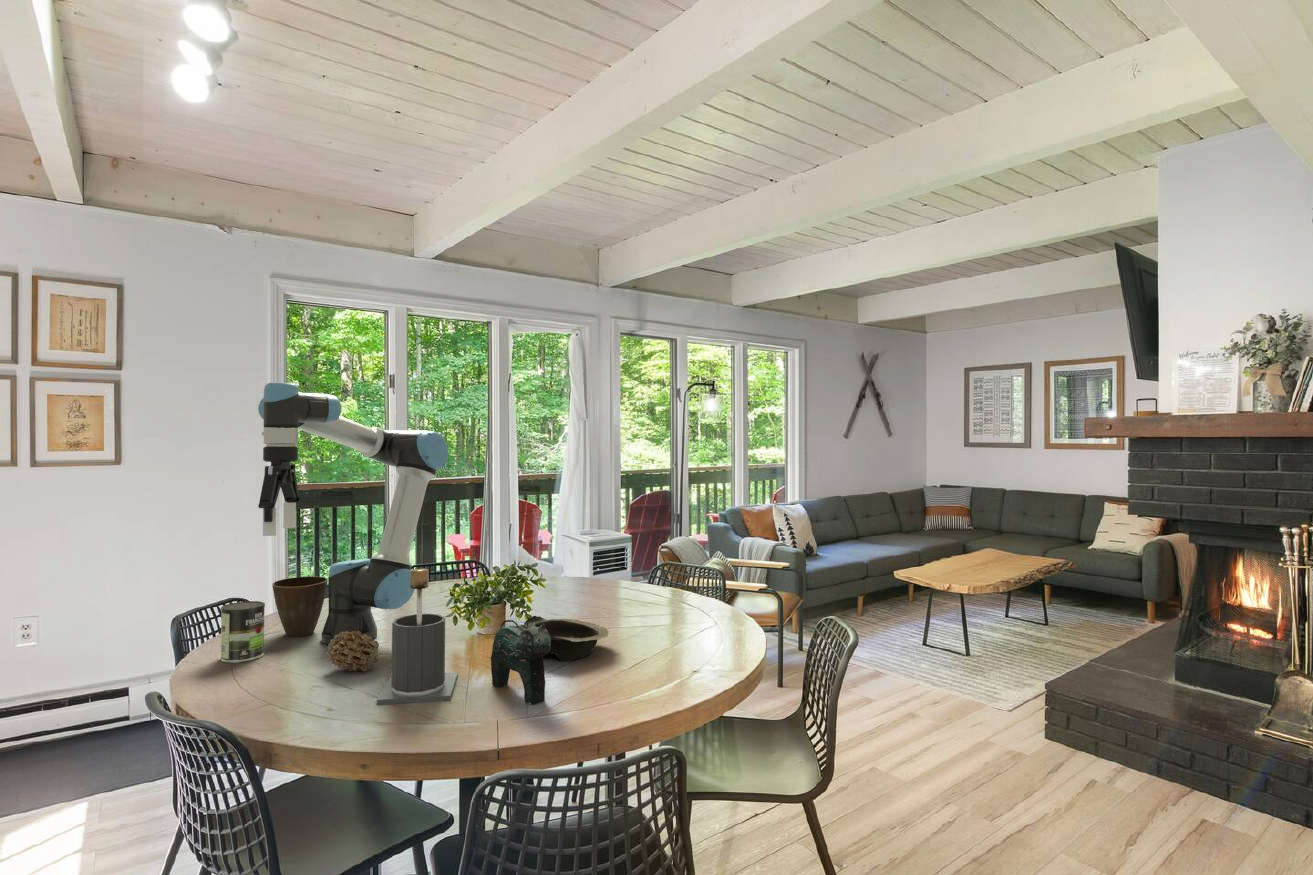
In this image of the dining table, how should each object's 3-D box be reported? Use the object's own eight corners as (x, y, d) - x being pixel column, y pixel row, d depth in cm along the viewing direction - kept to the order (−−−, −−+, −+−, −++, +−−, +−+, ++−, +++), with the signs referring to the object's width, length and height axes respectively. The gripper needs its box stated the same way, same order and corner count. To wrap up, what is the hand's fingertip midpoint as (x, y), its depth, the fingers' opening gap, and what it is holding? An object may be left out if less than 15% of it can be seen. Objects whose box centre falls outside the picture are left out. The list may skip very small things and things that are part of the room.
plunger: (401, 676, 166) (402, 567, 166) (441, 674, 168) (442, 566, 168) (394, 690, 157) (395, 574, 157) (436, 688, 159) (437, 573, 159)
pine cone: (316, 675, 173) (317, 635, 173) (338, 662, 182) (338, 625, 182) (399, 679, 170) (400, 639, 170) (417, 666, 180) (417, 628, 180)
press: (391, 679, 170) (391, 611, 170) (457, 675, 173) (458, 608, 173) (376, 704, 154) (377, 628, 154) (450, 699, 157) (451, 626, 157)
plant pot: (311, 641, 201) (311, 586, 201) (261, 640, 201) (261, 586, 201) (336, 627, 216) (336, 576, 216) (289, 626, 216) (289, 575, 216)
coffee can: (273, 652, 190) (273, 601, 190) (244, 664, 180) (244, 610, 180) (241, 649, 193) (242, 599, 193) (210, 661, 182) (211, 608, 182)
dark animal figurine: (553, 702, 157) (553, 615, 157) (529, 709, 152) (530, 620, 152) (506, 679, 171) (507, 599, 171) (483, 686, 166) (483, 603, 166)
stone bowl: (501, 657, 188) (502, 622, 188) (555, 640, 210) (556, 610, 210) (576, 671, 176) (577, 634, 177) (625, 652, 198) (626, 619, 199)
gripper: (282, 444, 180) (281, 525, 180) (243, 446, 156) (242, 539, 156) (312, 445, 182) (312, 524, 182) (279, 446, 157) (278, 538, 157)
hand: (279, 531), depth 169 cm, fingers open, 13 cm apart
